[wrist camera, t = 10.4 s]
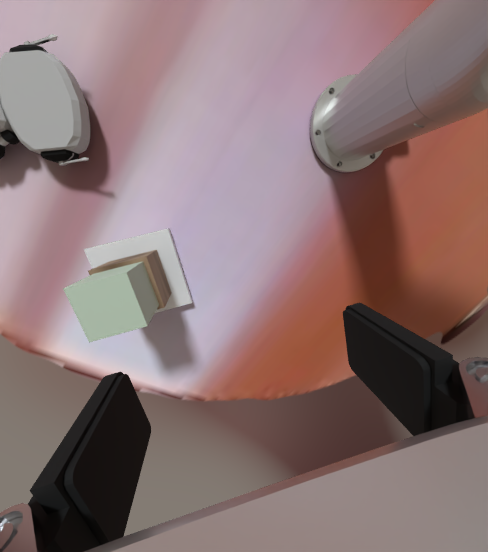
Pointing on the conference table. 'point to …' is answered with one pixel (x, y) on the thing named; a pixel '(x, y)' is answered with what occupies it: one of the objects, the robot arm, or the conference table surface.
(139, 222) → the conference table surface
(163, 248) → the build plate
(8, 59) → the robot toy
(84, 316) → the green block
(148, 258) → the walnut block
